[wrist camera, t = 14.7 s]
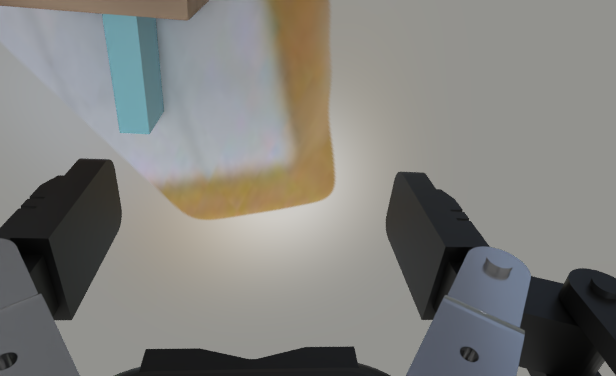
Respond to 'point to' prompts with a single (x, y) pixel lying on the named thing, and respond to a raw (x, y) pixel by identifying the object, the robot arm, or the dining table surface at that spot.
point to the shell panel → (134, 71)
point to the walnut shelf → (118, 7)
